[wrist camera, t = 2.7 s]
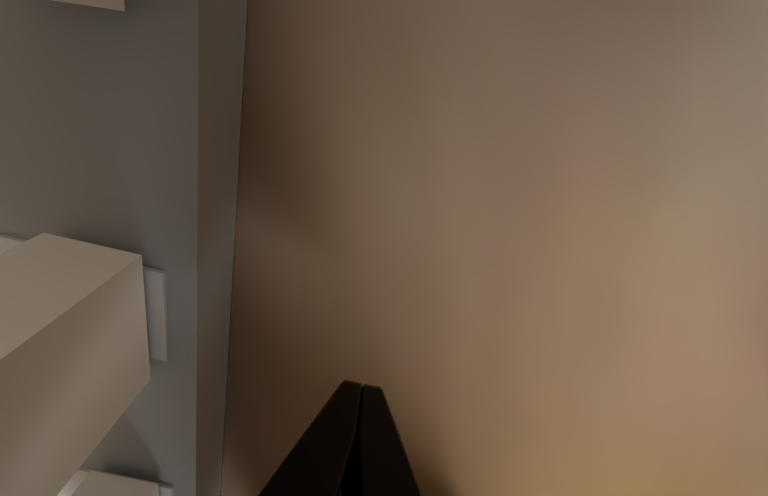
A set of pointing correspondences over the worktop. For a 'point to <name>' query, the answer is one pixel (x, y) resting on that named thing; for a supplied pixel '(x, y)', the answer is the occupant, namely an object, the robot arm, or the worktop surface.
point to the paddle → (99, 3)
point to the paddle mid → (65, 356)
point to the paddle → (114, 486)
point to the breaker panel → (137, 196)
